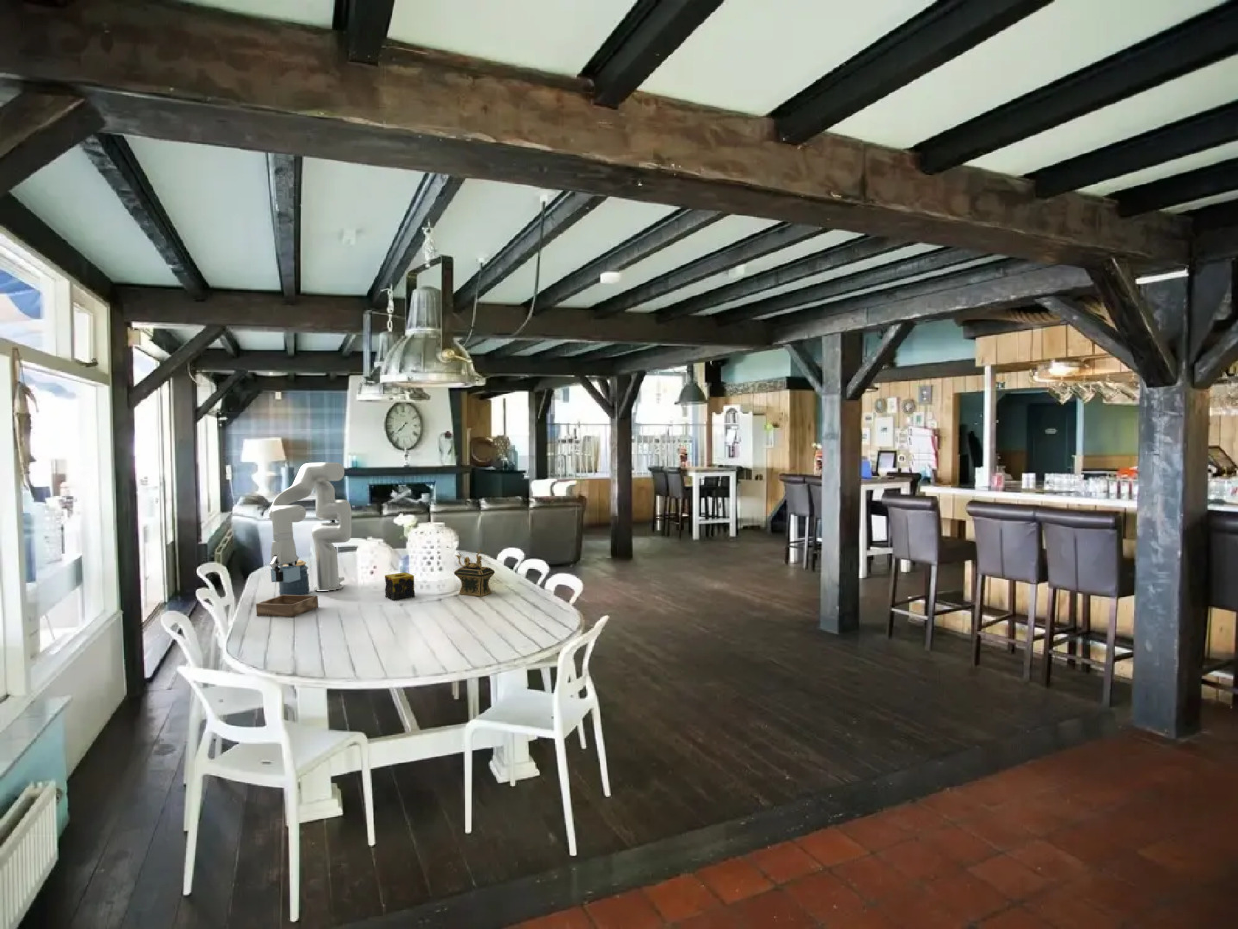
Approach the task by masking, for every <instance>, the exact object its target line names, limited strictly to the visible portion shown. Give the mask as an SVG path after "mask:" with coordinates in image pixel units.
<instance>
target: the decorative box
mask: <svg viewBox="0 0 1238 929" xmlns="http://www.w3.org/2000/svg"><path fill="white" fill-rule="evenodd" d="M480 553H482V549H479V551H478V553H476V562H471V561H470V560H471V559H470V557H469V556H466V557H465V558H463V559H464V560H463V562H464V564H462V563H461V562H462V561H461V558H462V557H461V556H462V555H461V553H459V555H458V554H456V555H455V557H456V558H457V560H458V564H459V565H460V566H461V567H459V568H457V569H456V570H455V571H454V572H453V574H454V576H456V577H457V578H458V579H459V581H460V584H461V586H460V590H459V592H458V595H461V596H462V595H464V596H472V597H473V596H474V597H483V596H486V595H487V596H488V595H490V594H491V593H492V590H491V588H490V585H489V584H490V583H489V582H490V579H491V578H492V577H493V576H494V574H495V570H494V569H492V568H491V567H488V566H483V565H482V558H483V557H482V555H479V554H480Z"/></svg>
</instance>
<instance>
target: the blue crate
mask: <svg viewBox="0 0 1238 929" xmlns="http://www.w3.org/2000/svg"><path fill="white" fill-rule="evenodd" d="M279 567H280V566H278V568H279ZM281 572H283V581H276V572H274V570H273V569H272V568H270V578H271V579H270V580H271V581H270V582H271V583H279V582H288V583H290V582H293V581H296V580H300V566H283V567H282V571H281Z"/></svg>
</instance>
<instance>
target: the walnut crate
mask: <svg viewBox="0 0 1238 929" xmlns="http://www.w3.org/2000/svg"><path fill="white" fill-rule="evenodd" d="M318 598H319V597H318V595H307V594H305V595H281V596H280V595H277V596H275V597H272V598H269V599H267V600H264V601H260V602H257V603H255V609H256V610H255V611H256V616H257V617H276V618H277V617H278V618H281V617H282V618H284V617H285V618H295V617H297V616H299V615H301V614H305V613H308V612H309V611H312V610H316V609H318V608H319V599H318Z"/></svg>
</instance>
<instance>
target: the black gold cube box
mask: <svg viewBox="0 0 1238 929" xmlns="http://www.w3.org/2000/svg"><path fill="white" fill-rule="evenodd" d="M384 580H385V588H384V590H385V592H384V593H385V596H384V597H386V598H387V597H388V598H387V599H389V600H391V601H394V602H395V600H396V601H401V600H406V598H407V599H410V598H411V597H412V598H415V576H414V575H413V574H411V573H409V572H399V573H392V574H391V573H390V574H385V575H384ZM412 598H411V599H412Z"/></svg>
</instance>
